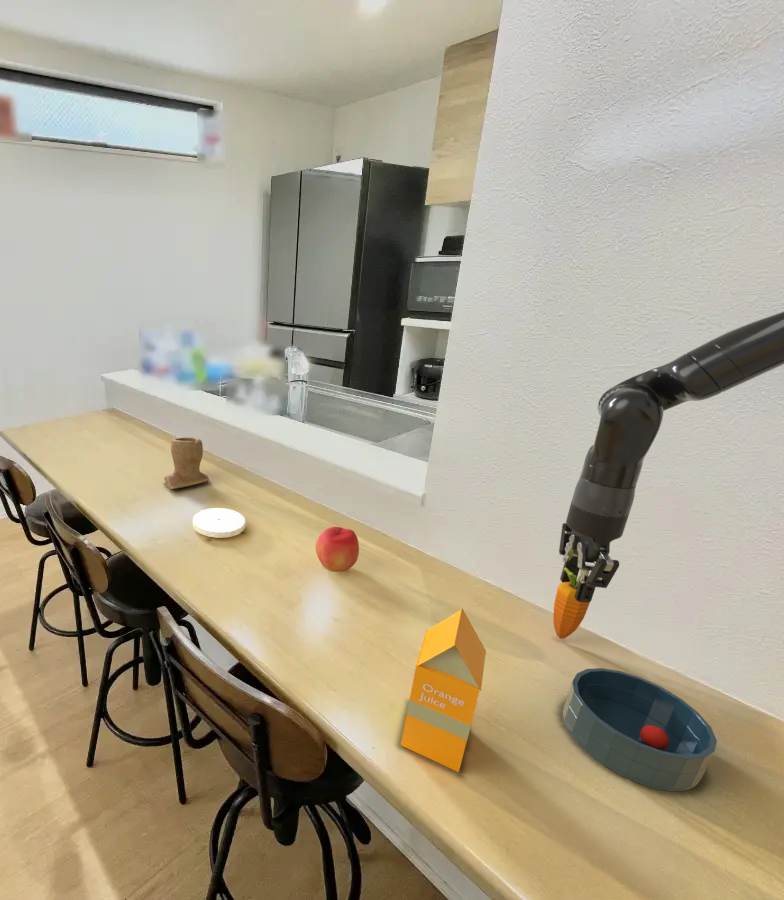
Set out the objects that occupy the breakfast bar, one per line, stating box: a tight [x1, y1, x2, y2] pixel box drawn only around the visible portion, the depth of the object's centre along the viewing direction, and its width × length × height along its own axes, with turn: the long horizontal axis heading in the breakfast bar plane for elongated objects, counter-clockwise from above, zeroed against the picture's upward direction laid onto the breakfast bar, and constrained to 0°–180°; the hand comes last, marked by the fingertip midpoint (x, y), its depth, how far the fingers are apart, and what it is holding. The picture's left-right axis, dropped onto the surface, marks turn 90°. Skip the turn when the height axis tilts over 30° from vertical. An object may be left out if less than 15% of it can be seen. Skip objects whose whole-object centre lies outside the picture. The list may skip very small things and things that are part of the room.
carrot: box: [553, 568, 591, 640], centre depth 88 cm, size 5×5×15 cm
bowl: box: [562, 667, 718, 792], centre depth 71 cm, size 15×15×6 cm
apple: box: [315, 526, 360, 573], centre depth 112 cm, size 10×10×10 cm
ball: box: [640, 725, 669, 750], centre depth 70 cm, size 3×3×3 cm
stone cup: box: [163, 436, 210, 490], centre depth 159 cm, size 15×12×15 cm
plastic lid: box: [192, 507, 246, 539], centre depth 132 cm, size 14×14×2 cm
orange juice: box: [400, 608, 487, 773], centre depth 69 cm, size 8×9×20 cm
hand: (574, 590), depth 87 cm, fingers closed on carrot, 5 cm apart
